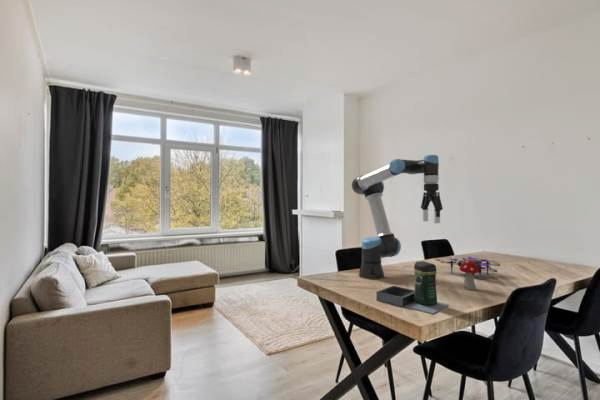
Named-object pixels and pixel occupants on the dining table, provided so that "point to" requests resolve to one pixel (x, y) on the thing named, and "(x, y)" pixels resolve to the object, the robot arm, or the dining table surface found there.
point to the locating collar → (390, 298)
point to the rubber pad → (427, 307)
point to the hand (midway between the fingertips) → (431, 222)
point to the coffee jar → (425, 283)
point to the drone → (478, 262)
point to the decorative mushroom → (469, 274)
